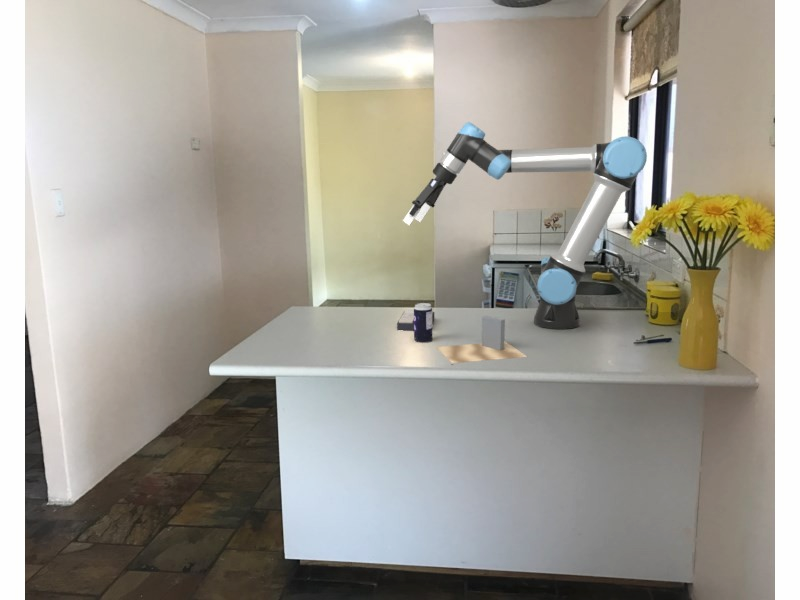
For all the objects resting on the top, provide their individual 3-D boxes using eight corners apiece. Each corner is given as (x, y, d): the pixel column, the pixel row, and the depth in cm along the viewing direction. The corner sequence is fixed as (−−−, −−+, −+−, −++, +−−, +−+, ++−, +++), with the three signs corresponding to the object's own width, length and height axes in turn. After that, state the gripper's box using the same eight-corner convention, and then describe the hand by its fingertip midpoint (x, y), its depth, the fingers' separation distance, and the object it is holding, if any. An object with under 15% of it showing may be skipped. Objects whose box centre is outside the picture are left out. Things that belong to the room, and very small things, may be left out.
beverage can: (426, 338, 187) (426, 302, 184) (435, 343, 182) (435, 305, 179) (410, 341, 184) (410, 304, 182) (419, 345, 179) (419, 307, 177)
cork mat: (505, 343, 180) (505, 341, 180) (527, 358, 165) (527, 356, 165) (436, 348, 176) (436, 346, 175) (451, 365, 160) (451, 363, 160)
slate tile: (485, 344, 177) (486, 315, 175) (504, 349, 172) (504, 319, 170) (481, 345, 176) (482, 316, 174) (500, 350, 171) (500, 320, 169)
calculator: (396, 321, 197) (404, 309, 211) (397, 333, 198) (404, 320, 212) (429, 321, 195) (434, 309, 209) (429, 334, 196) (434, 321, 210)
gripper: (447, 162, 201) (412, 212, 208) (429, 160, 178) (391, 217, 185) (464, 175, 200) (429, 225, 207) (449, 174, 177) (410, 231, 184)
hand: (411, 221), depth 196 cm, fingers open, 13 cm apart
